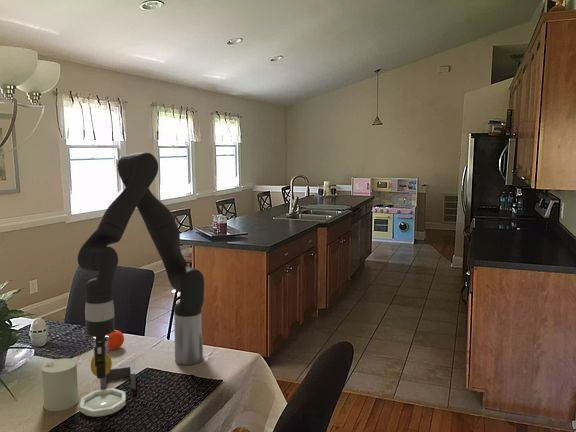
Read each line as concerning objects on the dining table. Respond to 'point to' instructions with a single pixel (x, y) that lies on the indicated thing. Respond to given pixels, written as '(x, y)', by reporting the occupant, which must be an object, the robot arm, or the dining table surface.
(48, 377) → the can
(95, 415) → the dish
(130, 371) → the clip
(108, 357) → the lemon
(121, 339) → the clementine
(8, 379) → the dining table surface
